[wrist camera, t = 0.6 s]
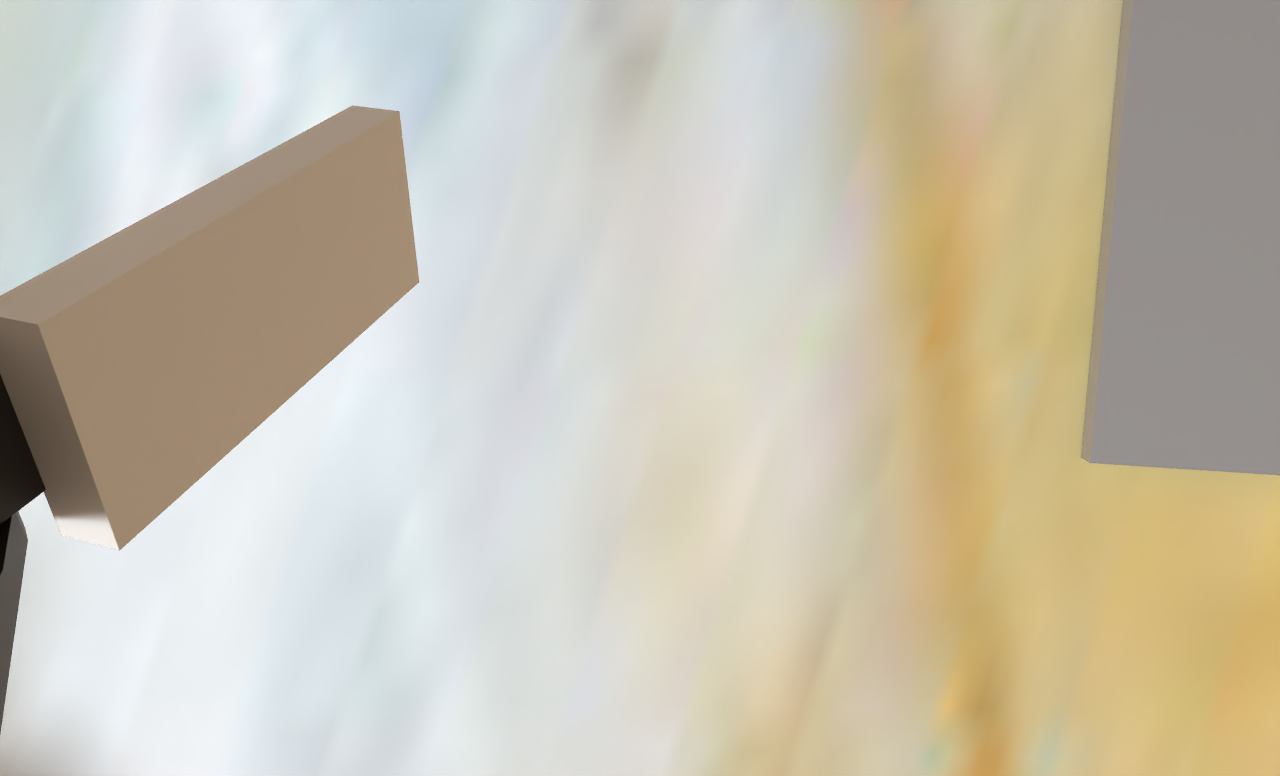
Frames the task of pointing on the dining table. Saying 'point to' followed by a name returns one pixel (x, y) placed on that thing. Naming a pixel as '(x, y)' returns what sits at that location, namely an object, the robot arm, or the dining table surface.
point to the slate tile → (1190, 243)
